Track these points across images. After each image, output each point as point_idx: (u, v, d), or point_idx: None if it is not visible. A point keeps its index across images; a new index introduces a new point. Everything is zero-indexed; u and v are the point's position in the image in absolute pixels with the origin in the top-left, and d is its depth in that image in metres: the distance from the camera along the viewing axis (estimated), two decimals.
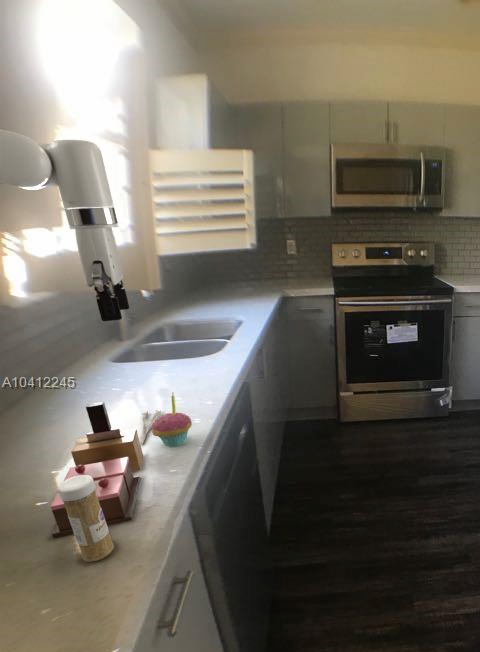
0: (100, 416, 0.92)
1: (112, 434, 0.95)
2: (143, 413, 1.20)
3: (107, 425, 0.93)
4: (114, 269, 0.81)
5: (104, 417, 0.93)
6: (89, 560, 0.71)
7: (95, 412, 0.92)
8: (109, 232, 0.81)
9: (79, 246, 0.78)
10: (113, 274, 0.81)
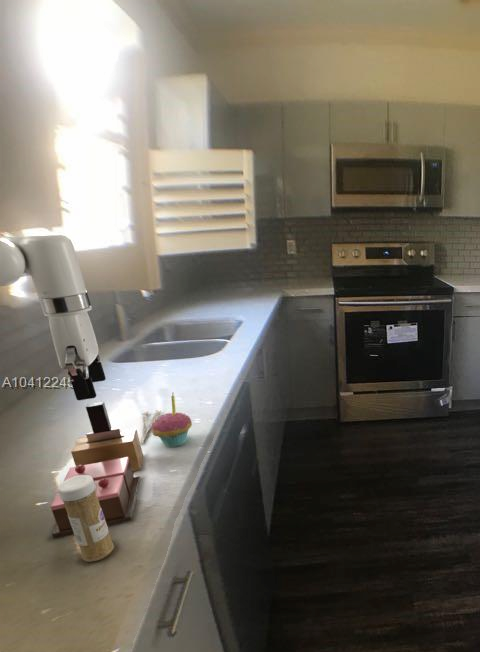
0: (100, 416, 0.92)
1: (112, 434, 0.95)
2: (143, 413, 1.20)
3: (107, 425, 0.93)
4: (87, 351, 0.85)
5: (104, 417, 0.93)
6: (89, 560, 0.71)
7: (95, 412, 0.92)
8: (82, 316, 0.84)
9: (53, 333, 0.81)
10: (86, 356, 0.84)
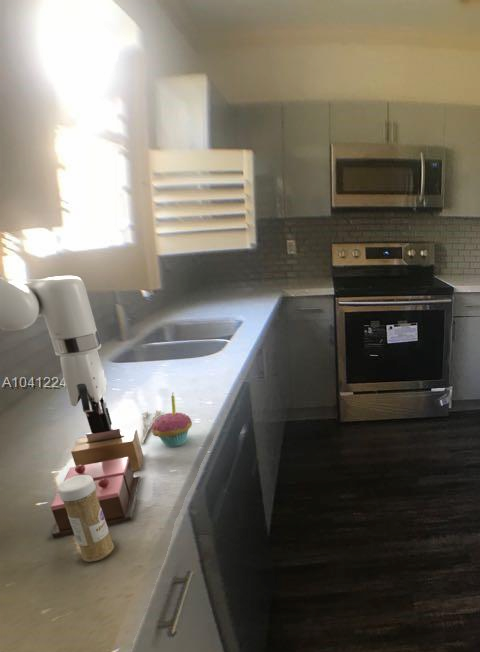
0: None
1: (112, 434, 0.95)
2: (143, 413, 1.20)
3: None
4: (97, 389, 0.87)
5: None
6: (89, 560, 0.71)
7: None
8: (92, 355, 0.87)
9: (64, 372, 0.84)
10: (96, 394, 0.87)
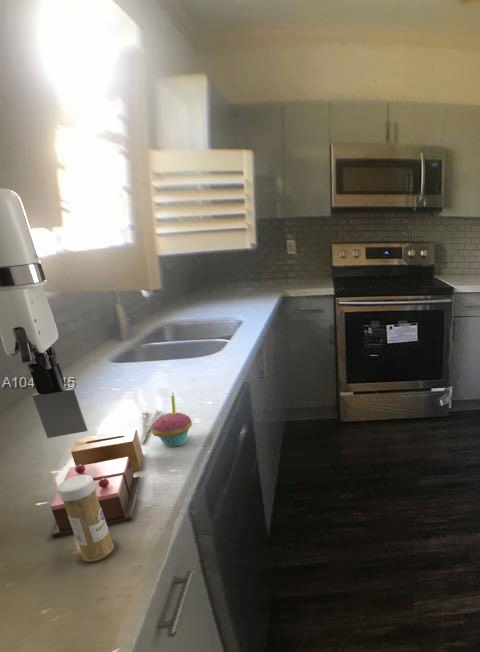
0: None
1: (65, 396, 0.77)
2: (143, 413, 1.20)
3: None
4: (40, 335, 0.69)
5: None
6: (89, 560, 0.71)
7: None
8: (34, 292, 0.69)
9: None
10: (39, 341, 0.69)
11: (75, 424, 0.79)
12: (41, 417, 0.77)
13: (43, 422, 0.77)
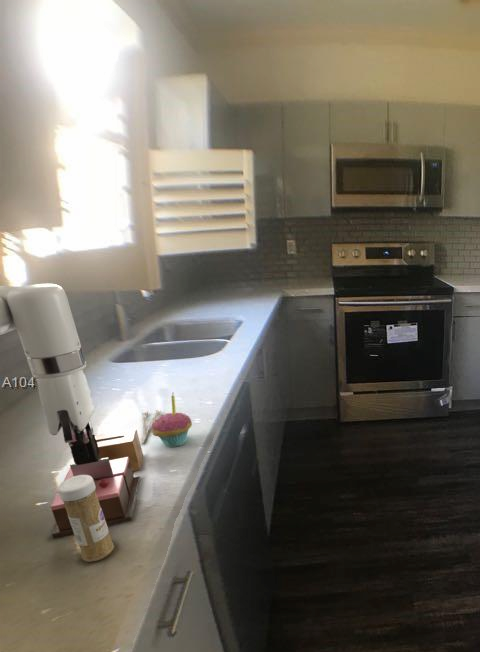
0: None
1: (100, 465, 0.82)
2: (143, 413, 1.20)
3: None
4: (81, 415, 0.75)
5: None
6: (89, 560, 0.71)
7: None
8: (75, 375, 0.75)
9: (41, 397, 0.72)
10: (80, 421, 0.75)
11: None
12: None
13: None
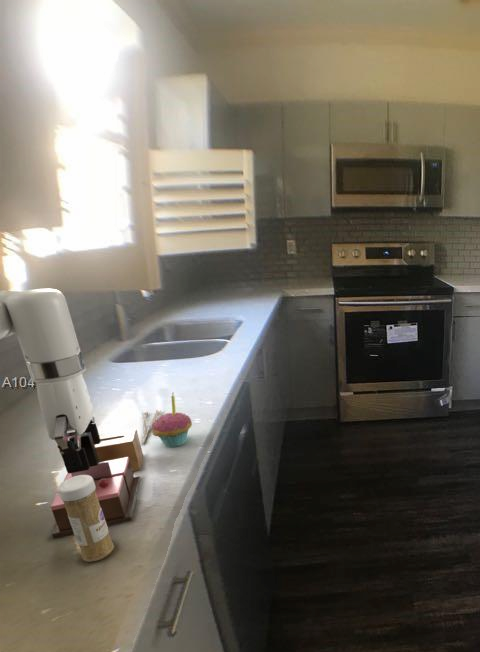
0: (86, 449, 0.80)
1: (100, 468, 0.83)
2: (143, 413, 1.20)
3: (94, 459, 0.81)
4: (80, 419, 0.75)
5: (91, 450, 0.80)
6: (89, 560, 0.71)
7: (81, 445, 0.80)
8: (75, 380, 0.75)
9: (41, 402, 0.72)
10: (79, 425, 0.75)
11: None
12: None
13: None
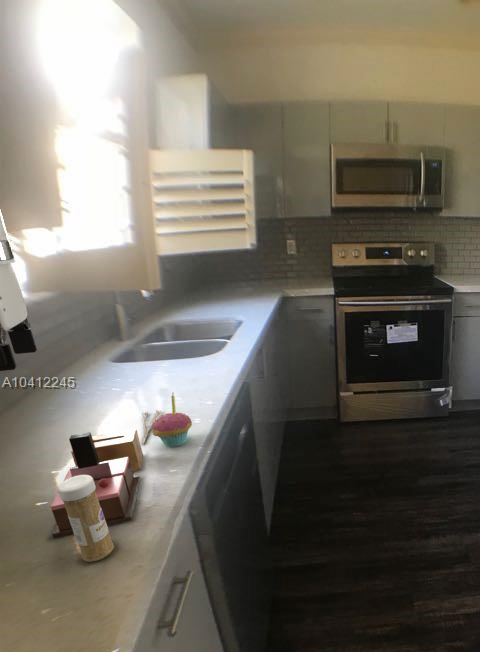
0: (86, 449, 0.80)
1: (100, 468, 0.83)
2: (143, 413, 1.20)
3: (94, 459, 0.81)
4: (5, 312, 0.70)
5: (91, 450, 0.80)
6: (89, 560, 0.71)
7: (81, 445, 0.80)
8: (0, 269, 0.70)
9: None
10: (3, 318, 0.69)
11: None
12: None
13: None
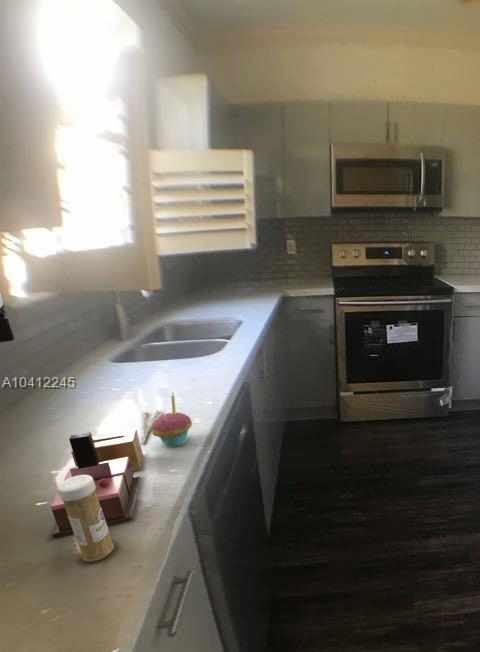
0: (86, 449, 0.80)
1: (100, 468, 0.83)
2: (143, 413, 1.20)
3: (94, 459, 0.81)
4: None
5: (91, 450, 0.80)
6: (89, 560, 0.71)
7: (81, 445, 0.80)
8: None
9: None
10: None
11: None
12: None
13: None
